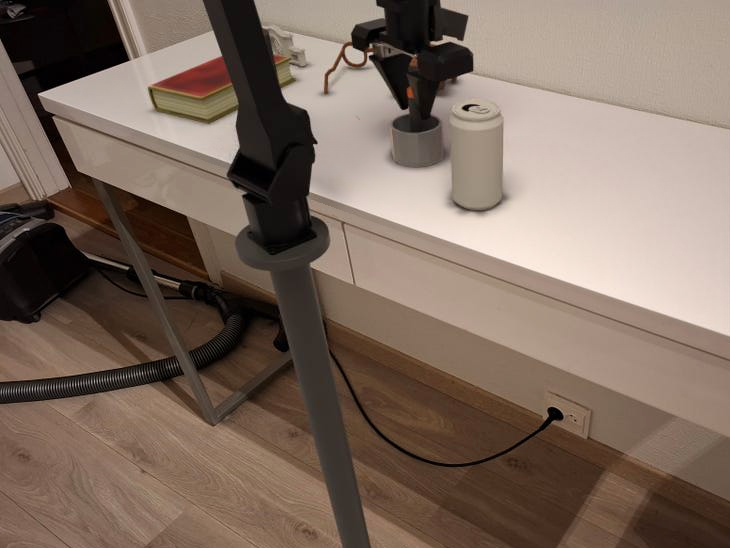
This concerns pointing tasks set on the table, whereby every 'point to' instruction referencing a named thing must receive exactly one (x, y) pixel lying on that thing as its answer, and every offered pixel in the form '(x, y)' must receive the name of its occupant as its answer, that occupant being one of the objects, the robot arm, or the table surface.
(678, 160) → the table surface
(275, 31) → the garden wall model
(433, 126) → the pen pot
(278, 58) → the hardcover book
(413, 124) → the rod
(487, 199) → the beverage can
